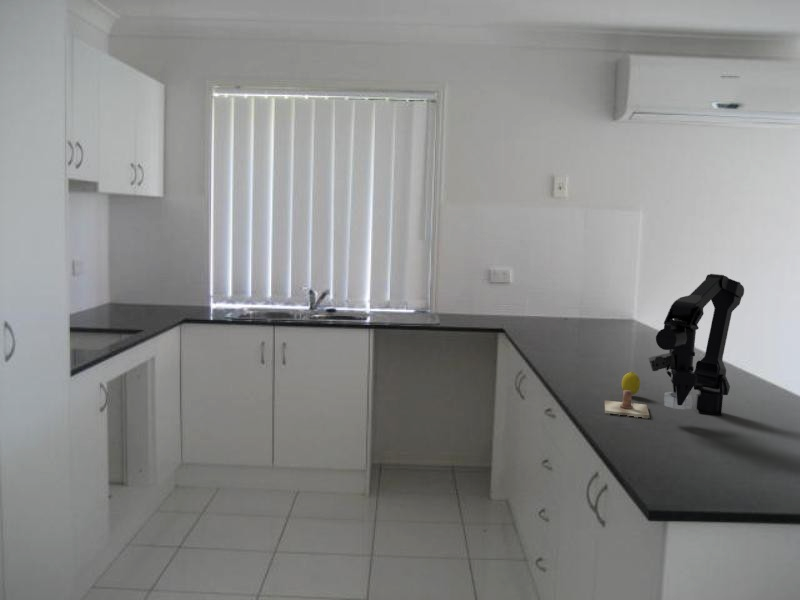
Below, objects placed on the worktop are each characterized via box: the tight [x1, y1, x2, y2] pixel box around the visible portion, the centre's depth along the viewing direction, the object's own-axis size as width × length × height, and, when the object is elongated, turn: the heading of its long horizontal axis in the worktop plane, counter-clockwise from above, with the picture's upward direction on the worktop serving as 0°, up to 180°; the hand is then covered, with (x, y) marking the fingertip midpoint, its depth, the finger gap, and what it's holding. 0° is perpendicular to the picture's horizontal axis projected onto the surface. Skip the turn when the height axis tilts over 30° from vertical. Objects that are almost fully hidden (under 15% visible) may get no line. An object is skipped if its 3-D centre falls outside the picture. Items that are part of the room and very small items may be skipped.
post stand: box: [604, 390, 650, 419], centre depth 211 cm, size 12×12×6 cm
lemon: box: [621, 371, 641, 396], centre depth 229 cm, size 6×6×8 cm
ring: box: [663, 391, 694, 410], centre depth 199 cm, size 7×7×3 cm
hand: (677, 401), depth 199 cm, fingers closed on ring, 7 cm apart
